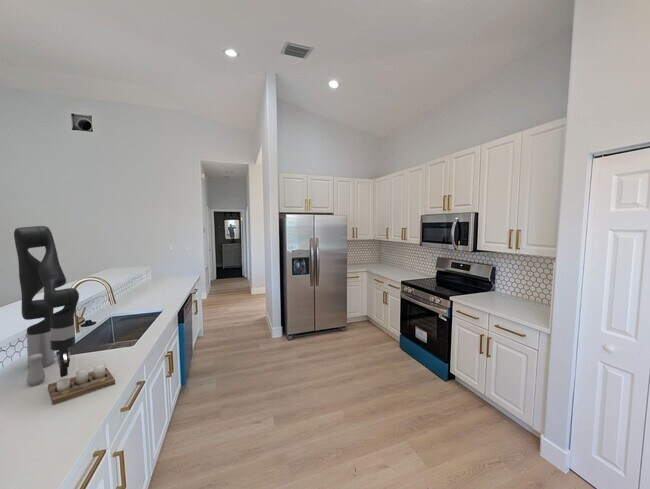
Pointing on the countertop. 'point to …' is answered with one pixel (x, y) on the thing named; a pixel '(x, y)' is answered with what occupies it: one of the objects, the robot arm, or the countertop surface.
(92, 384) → the board
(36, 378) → the salt shaker
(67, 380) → the white domed cylinder
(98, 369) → the button
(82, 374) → the button
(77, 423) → the countertop surface
